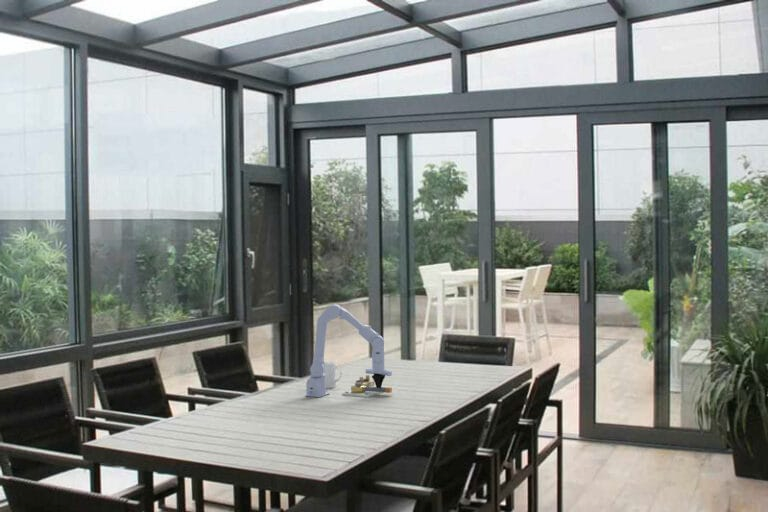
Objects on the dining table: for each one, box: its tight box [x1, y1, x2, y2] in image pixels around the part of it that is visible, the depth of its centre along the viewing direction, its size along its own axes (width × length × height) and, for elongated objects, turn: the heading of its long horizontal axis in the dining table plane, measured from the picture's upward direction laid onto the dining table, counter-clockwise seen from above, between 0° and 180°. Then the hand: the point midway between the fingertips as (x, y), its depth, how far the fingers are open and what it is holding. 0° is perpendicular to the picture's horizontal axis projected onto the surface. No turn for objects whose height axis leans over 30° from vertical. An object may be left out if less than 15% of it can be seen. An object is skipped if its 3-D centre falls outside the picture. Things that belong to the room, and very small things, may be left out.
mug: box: [323, 361, 343, 389], centre depth 442 cm, size 12×8×12 cm
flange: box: [342, 382, 383, 398], centre depth 422 cm, size 16×14×5 cm
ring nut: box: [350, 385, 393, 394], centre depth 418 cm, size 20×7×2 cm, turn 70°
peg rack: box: [355, 374, 375, 387], centre depth 441 cm, size 10×5×5 cm, turn 150°
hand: (378, 389), depth 419 cm, fingers closed
